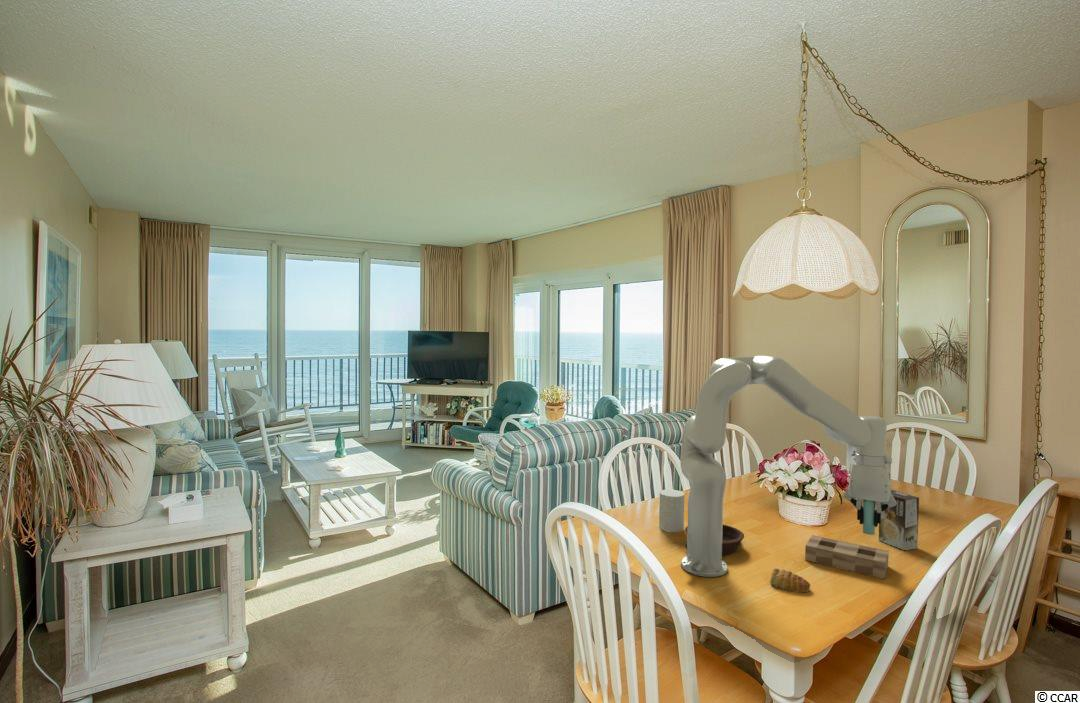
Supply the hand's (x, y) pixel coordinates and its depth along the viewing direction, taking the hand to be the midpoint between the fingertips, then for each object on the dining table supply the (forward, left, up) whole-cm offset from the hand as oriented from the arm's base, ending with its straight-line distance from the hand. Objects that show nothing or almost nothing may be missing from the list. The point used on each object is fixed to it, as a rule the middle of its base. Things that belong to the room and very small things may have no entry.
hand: (868, 523), depth 158 cm
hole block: (0, +5, -13) cm, 14 cm away
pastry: (-25, +16, -13) cm, 33 cm away
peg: (0, 0, -3) cm, 3 cm away
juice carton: (+80, +10, -13) cm, 81 cm away
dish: (-11, +40, -13) cm, 44 cm away
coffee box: (+26, -6, -13) cm, 29 cm away
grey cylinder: (-4, +57, -13) cm, 59 cm away
